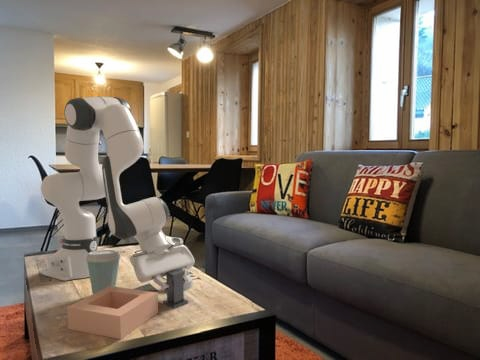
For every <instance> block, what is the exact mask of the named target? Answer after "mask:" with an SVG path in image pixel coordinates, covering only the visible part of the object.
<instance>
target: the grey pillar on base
mask: <svg viewBox="0 0 480 360" xmlns="http://www.w3.org/2000/svg"><path fill="white" fill-rule="evenodd" d="M165 277H166V282H167V283H168V285H169V288H168V289H166V299H165V300H163V301H162V305H164V306H166V307H168V308H171V309H173V310H175V309H177V308H179V307H182V306H186V305H187V304H189V300H187V299H185V297H184V296H185V293H184V291H185V290H183V272H181V271H178V270H173V271H169V272H166V276H165Z"/></svg>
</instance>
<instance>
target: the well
mask: <svg viewBox="0 0 480 360" xmlns="http://www.w3.org/2000/svg"><path fill="white" fill-rule="evenodd" d="M66 308H67V310H66V311H67V326H68V327H67V328H68V330H72V331H76V332H77V331H78V332H83V333H87V334H92V335H97V336H102V337H108V338H113V339H116V340H122V339H123V338H125V337H127V336H128V335H130V334H131V333H132V332H133V331H135V330H136V329H138V328H139V327H141V326H142V325H143V324H144V323H146V322H147V321H149V320H150V319H151V318H152V317H154V316H156V315H157V314H158V313H159V300H158V292H155V291H148V290H142V289H135V288H134V289H133V288H129V287H128V288H126V287H120V286H116V287H114V286H108V287H106V288H104V289H102V290H100V291H98V292H96V293H94V294H93V293H92V294H91V295H89V296H87V297H85V298H83V299H81V300H79V301H77V302H75V303H73V304H71V305H69V306H67V307H66Z"/></svg>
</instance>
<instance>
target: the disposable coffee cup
mask: <svg viewBox="0 0 480 360" xmlns="http://www.w3.org/2000/svg"><path fill="white" fill-rule="evenodd" d="M121 258H122V255H121V253H120V251H119V250H116V249H100V250H99V249H97V251H93V252H90V253H88V255H87V257H86V260H87V264H88V270H89V276H90V277H89V281H90V286H91V292H92V293H91V294H92V295H93V294H94V293H96V292H98V291H100V290H102V289H104V288H106V287H108V286H114V287H117V280H118V273H119V266H120V259H121Z"/></svg>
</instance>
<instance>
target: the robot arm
mask: <svg viewBox="0 0 480 360" xmlns="http://www.w3.org/2000/svg"><path fill="white" fill-rule="evenodd" d="M131 110H132V109H131V107H130V103H128V101H127V100H125V99H124V98H121V97H117V96H113V97H112V96H111V97H109V96H90V97H88V96H87V97H76V98H72V99H69V100H67V102H66V104H65V107H64V112H63V115H64V119H65V122H66V123H67V129H66V135H65V136H66V137H65V148H64V149H65V151H64V157H65V159H66V161H67V162H68V163H69V164H71V165H72V166H75V167H77V168H80V169H79V171H77V172H76V171H75V172H58V173H54V174H50V175H46V176H45V177H44V178H43V180H42V181H41V183H40V193H41V195H42V196H43V198H44V200H46V201H47V202H49V203H50V204H51V205H53V206H54V207H55V208H57V210H58V211H59V213H60V214H61V217H62V220H63V226H64V238H62V239H60V240H59V243H60V244H61V243H62V244H61V248H59V249H58V250H57V251H56V252H55V253H54V254H52V255H51V256H50V257H49V259H48V265H47V266H48V267H47V268H46V269H44V270H42V271H41V275H43V276H46V277H49V278H52V279H53V278H54V279H57V280H61V281H70V280H71V281H72V280H76V279H85V278H90V276H89V270H88V264H87V260H86V257H87V255H88V253H90V252H93V251H97V250H98V244H99V242H98V241H99V240H98V239H99V238H98V235H97V226H96V216H95V215H94V214H93V212H91V211H90V210H88V209H87V210H86V209H84V208H81V207H80V202H81V201H82V202H83V201H94V200H99V199H100V200H101V199H103V198H105V200H106V201H105V202H106V207H107V208H106V209H107V221H108V222H107V223H108V228H109V232H110V233H111V235H112V236H114V237H115V238H118V239H120V240H123V241H126V240H129V239H131V238H135V239H136V241H137V242H138V246H139V248H140V252H138V253H133V254H132V255H131V257H130V258H129V262H130V263H131V266H132V267H133V271H134V274H135V277H136V279H137V281H138V282H140V283H142V284H143V283H146V282H150V281H153V282H154V283H155V284H156V285H158V286H159V287H160V288H161V290H162V291H167V289H168V288H169V285H168V283H167V281H163V279H161V278H164V277H166V272H169V271H173V270H178V271H181V272H183V284H184V283H187V282H188V281H189V279H188V277H187V269H188V270H189V269H191V268H192V267H193V266H194V265H195V261H196V260H195V258H194V255H193V254H192V251H190V249H189V248H188V247H187V246H186V245H184V240H183V239H182V238H181V237H172V236H169V235H166V234H165V233H164V232H163V230H162V229H163V228H164V227H165V226H166V224H167V222H168V220H169V218H170V210H169V207H168V205H167V203H166V202H165V201H164V200H163V199H162V198H160V197H158V196H153V197H148V198H144V199H141V200H139V201H135V202H132V203H128V204H124V203H123V199H122V198H123V197H122V191H121V185H120V175H121V174H122V173H123V172H124V171H125V170H127V169H128V168H130V167H131V166H132V165H134V164H135V163H136V162H137V161H138V160H139V159H140V158H141V156H142V155H143V153H144V149H145V146H144V140H143V137H142V134H141V131H140V129H139V126H138V124H137V122H136V120H135V118H134V115H132V111H131ZM100 131H102V134H103V137H104V140H105V143H106V147H107V150H106V156H104V157H103V158H102V162H101V165H100V163H99V145H100V133H101V132H100Z"/></svg>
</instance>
